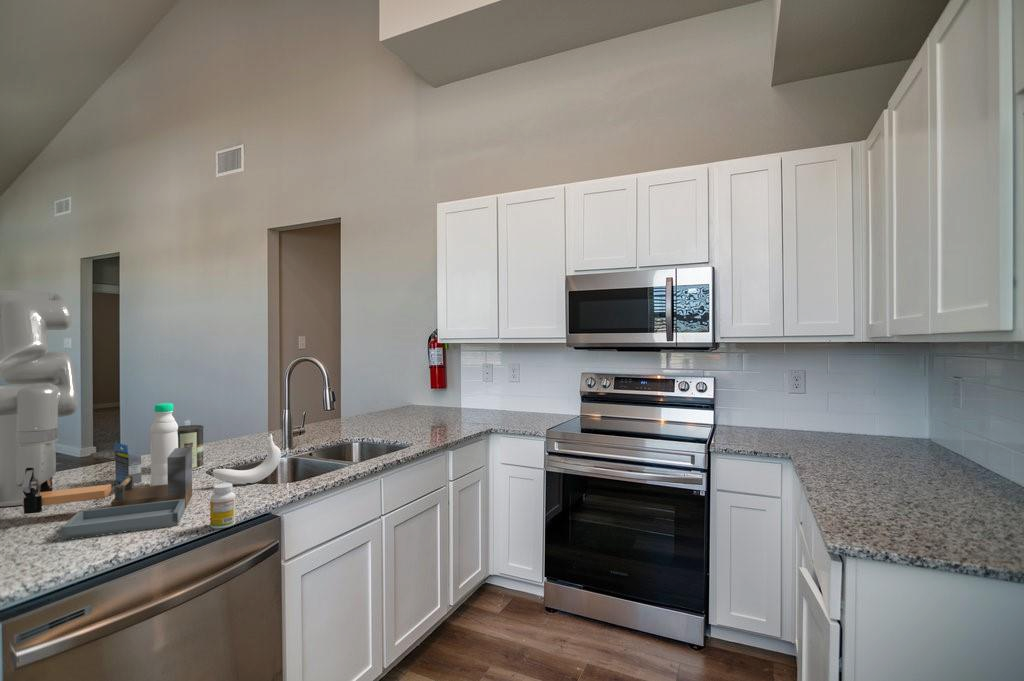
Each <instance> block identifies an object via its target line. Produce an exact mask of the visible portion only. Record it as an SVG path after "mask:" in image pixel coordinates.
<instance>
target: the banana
mask: <svg viewBox="0 0 1024 681" xmlns="http://www.w3.org/2000/svg"><path fill="white" fill-rule="evenodd" d="M265 441H266V442H267V444H268V446H269V447H268V452H267V453H266V454H267V455H266V456H265V459H264V460H263V461H262V462H261V463H259V464H258V465H257V466H255V467H253V468H250V469H244V470H241V469H240V470H237V469H232V468H215V469H213V471H212V476H213V477H215V478H216V479H218V480H220V481H223V482H224V483H231V484H232V485H247V484H246V483H251V484H255V483H258V482H260V481H263V480H264V479H266V478H268V477H269V476H270V475H271V474H272V473H273V472H274V471H275V470H276V469H277V468H278V466H279V464H280V461H281V456H282V450H280V448H279V447H278V446H277V445H276V444H275V443H274V441H273V435H272V433H269V434H268V437H267V438H266V439H265Z"/></svg>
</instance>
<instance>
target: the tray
mask: <svg viewBox="0 0 1024 681" xmlns="http://www.w3.org/2000/svg"><path fill="white" fill-rule="evenodd" d="M185 511H186V509H185V499H178V500H169V501H160V502H151V503H142V504H133V505H125V506H116V507H111V506H108V507H99V508H90V509H83V510H79V511H77V512H76V513H75V514H74V515H73V516H72V517H71V518H70V519H68V521H66V522H65V523H64V524H63V525H62V526H61V534H60V535H61V541H62V540H64V541H67V540H66V539H71V540H73V539H72V538H79V539H82V538H81V537H87V536H94V537H97V536H96V535H102V534H110V533H117V534H119V533H118V532H124V531H132V532H135V531H134V530H140V531H145V530H146V529H148V530H153V529H154V528H155V529H163V528H169V527H176V526H177V527H178V526H179V523H180V521H181V519H182V517H183V515H184V513H185ZM155 529H154V530H155ZM146 531H147V530H146ZM110 535H111V534H110ZM102 536H103V535H102ZM87 538H88V537H87Z"/></svg>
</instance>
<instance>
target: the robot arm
mask: <svg viewBox="0 0 1024 681" xmlns="http://www.w3.org/2000/svg"><path fill="white" fill-rule="evenodd" d="M72 322H73V313H72V310H71V307H70V305H69V303H68V301H67V300H66V299H65V298H64V297H63V295H62V294H60V293H58V292H47V291H28V290H11V289H10V290H8V289H7V290H4V289H3V290H0V381H2V382H3V383H4V384H5V385H4V384H3V385H0V507H3V508H4V507H14V506H15V507H16V506H23V500H24V508H23V514H25V515H29V514H37V513H42V510H43V506H42V495H41V496H40V492H47V491H54V489H53V477H54V476H55V474H56V470H57V469H56V468H57V459H56V458H57V456H56V446H55V445H56V444H55V442H58V441H59V418H63V417H69V416H72V415H73V414H75V413H76V412H78V407H79V394H78V389H77V388H78V387H77V381H76V372H75V367H74V363H73V358H72V357H71V355H70V354H68V353H67V352H65V351H61V350H49V346H48V340H47V332H46V331H65V330H68V329H69V328H70V327H71V325H72Z"/></svg>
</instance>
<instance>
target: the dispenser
mask: <svg viewBox="0 0 1024 681" xmlns="http://www.w3.org/2000/svg"><path fill="white" fill-rule="evenodd" d="M167 466H168V484H165V485H156V486H151V485H148V486H147V485H145V486H137V487H134V484H133V476H126V477H125V480H124V481H123V482H122V483H120V484H117V485H116V486H115V487H114V498H113V499H112V500H111V502H110V507H116V506H125V505H133V504H142V503H151V502H160V501H169V500H178V499H185V510H186V509H187V507H188V505H189V503H190V501H191V499H192V497H193V471H192V447H185V448H175V449H174V450H173V452H172V453H171V454H170V455H169V456H168V458H167Z"/></svg>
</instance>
